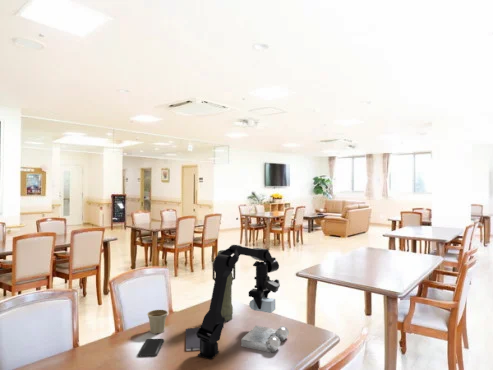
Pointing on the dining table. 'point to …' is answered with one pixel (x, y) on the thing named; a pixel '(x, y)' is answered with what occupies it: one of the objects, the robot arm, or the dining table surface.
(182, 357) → the dining table surface
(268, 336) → the steel hinge leaf
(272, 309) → the blue-grey hinge leaf
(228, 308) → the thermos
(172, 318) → the dining table surface
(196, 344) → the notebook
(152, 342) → the phone
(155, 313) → the flower pot
